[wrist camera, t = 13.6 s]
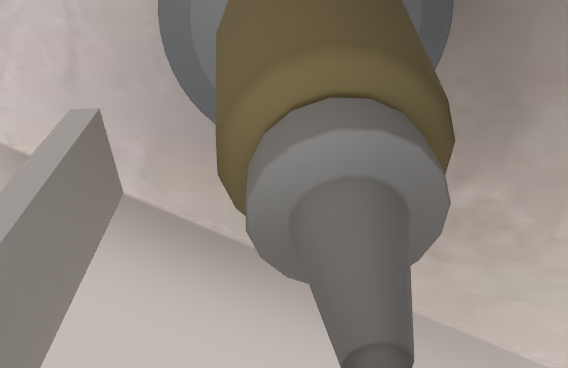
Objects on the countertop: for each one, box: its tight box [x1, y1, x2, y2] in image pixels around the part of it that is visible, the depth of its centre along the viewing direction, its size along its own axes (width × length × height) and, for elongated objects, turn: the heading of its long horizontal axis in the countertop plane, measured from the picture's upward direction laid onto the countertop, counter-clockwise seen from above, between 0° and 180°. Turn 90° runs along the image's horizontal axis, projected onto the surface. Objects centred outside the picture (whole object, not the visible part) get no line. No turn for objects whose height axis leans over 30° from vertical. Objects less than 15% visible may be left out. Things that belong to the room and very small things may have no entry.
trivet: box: [158, 0, 453, 124], centre depth 23 cm, size 14×14×1 cm
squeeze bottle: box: [216, 0, 455, 368], centre depth 15 cm, size 8×8×18 cm
